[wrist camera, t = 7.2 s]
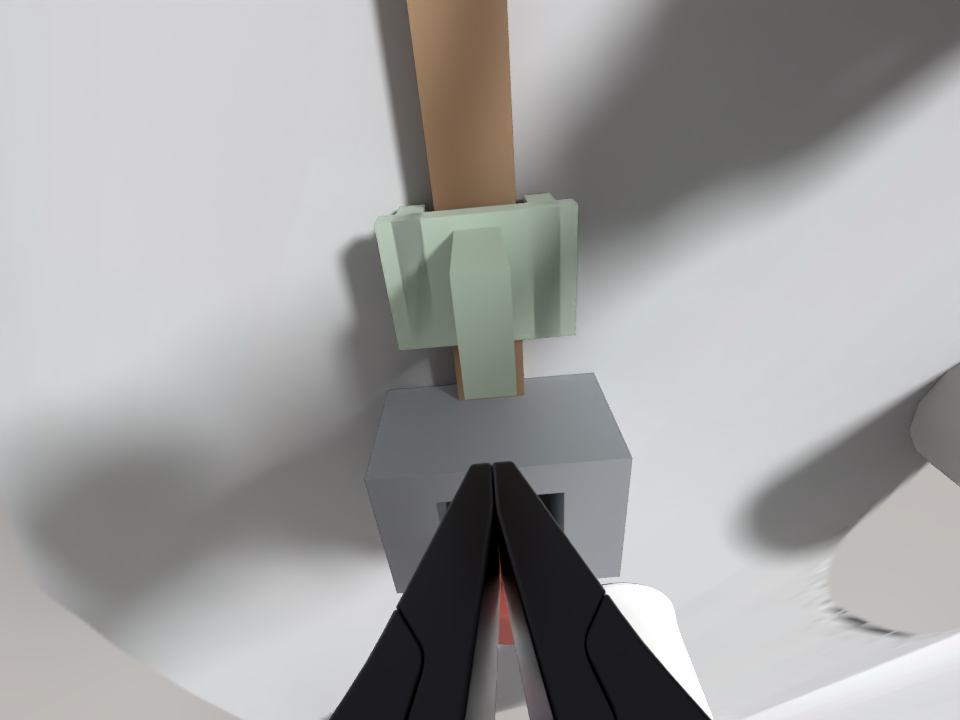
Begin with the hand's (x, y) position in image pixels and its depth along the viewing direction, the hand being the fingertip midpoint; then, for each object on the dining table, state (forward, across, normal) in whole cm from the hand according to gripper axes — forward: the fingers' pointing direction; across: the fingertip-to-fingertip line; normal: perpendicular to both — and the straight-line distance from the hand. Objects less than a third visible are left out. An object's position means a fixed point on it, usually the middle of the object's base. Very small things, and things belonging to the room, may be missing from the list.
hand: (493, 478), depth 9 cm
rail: (+12, 0, -4) cm, 13 cm away
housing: (+12, 0, +9) cm, 15 cm away
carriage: (+12, 0, -1) cm, 12 cm away
